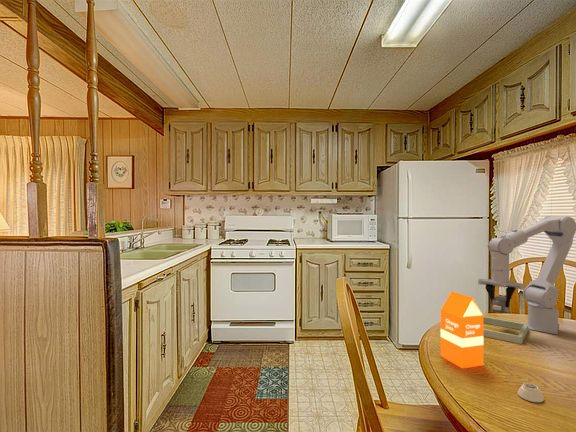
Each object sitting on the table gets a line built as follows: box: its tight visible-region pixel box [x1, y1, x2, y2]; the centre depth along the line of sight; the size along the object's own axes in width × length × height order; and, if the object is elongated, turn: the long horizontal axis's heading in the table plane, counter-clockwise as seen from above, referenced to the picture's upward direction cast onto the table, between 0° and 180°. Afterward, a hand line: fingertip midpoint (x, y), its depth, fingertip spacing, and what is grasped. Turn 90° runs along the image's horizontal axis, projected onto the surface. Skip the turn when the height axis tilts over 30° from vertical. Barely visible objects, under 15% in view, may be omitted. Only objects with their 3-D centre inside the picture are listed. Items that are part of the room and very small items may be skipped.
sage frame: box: [483, 315, 529, 345], centre depth 126 cm, size 18×18×2 cm
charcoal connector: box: [491, 295, 509, 314], centre depth 126 cm, size 4×13×4 cm, turn 139°
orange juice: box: [440, 291, 485, 369], centre depth 101 cm, size 8×9×20 cm
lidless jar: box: [517, 382, 545, 403], centre depth 80 cm, size 5×3×5 cm
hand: (500, 305), depth 126 cm, fingers closed on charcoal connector, 4 cm apart
